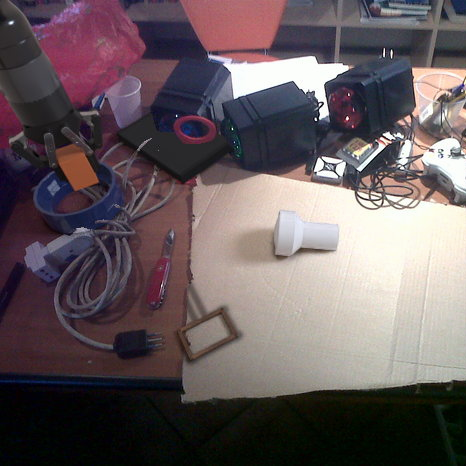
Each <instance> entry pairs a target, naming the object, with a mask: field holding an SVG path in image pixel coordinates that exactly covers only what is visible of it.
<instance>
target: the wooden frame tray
mask: <svg viewBox="0 0 466 466" xmlns="http://www.w3.org/2000/svg"><path fill="white" fill-rule="evenodd" d="M219 315H222V318H223V319H224V321H225V323H226V325H227V326H228V328H229V330H230V332H231V334H230V335H229V336H227V337H225V338H223V339H221V340H219V341H217V342H215V343H214V344H212V345H211V344H210V345H209V346H208V347H205V348H204V349H201V350H199V351H197V352H195V353H194V354H193V353H192V351H191V348H190V346H189V344H188V342H187V339H186V338H185V335H184V334H183V333H185V332H187V331H189V330H191V329H193V328H195V327H198V326H199V325H201V324H203V323H205V322H208V321H209V320H211V319H213V318H215V317H217V316H219ZM176 332H177V334H178V337H179V339H180V341H181V343H182V346H183V347H184V349H185V352H186V354H187V356H188V358H189V360H190V362H194V361H195V360H197V359H199V358H201V357H203V356H205V355H207V354H209V353H211V352H213V351H215V350H217V349H218V348H220V347H223V346H224V345H226V344H229V343H230V342H231V341H234V340H235V339H237V338H239V334H238V332H237V330H236V329H235V327H234V325H233V324H232V321H231V320H230V317H229V316H228V314H227V312H226V310H225V308H224V307H223V306H222V307H221V308H219V309H216V310H214V311H212V312H210V313H208V314H206V315H204V316H202V317H200V318H198V319H196V320H194V321H192V322H190V323H188V324H186V325H183V326H182V327H180V328H178V329H177V330H176Z"/></svg>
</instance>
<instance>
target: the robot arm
mask: <svg viewBox="0 0 466 466" xmlns="http://www.w3.org/2000/svg"><path fill="white" fill-rule="evenodd" d="M0 93H1V95H3V97H4V98H5V99H6V101H7V103H8V104H9V106H10V107H11V109H12V111H13V113H14V114H15V115H16V117H17V119H18V121H19V123H20V124H21V128H22V131H20V132H19V133H18V134H16V135H15V134H10V135H9V137H8V143H9V146H10V149H11V150H12V151H13V152H15V153H16V154H17V155H19V156H20V157H21V158H23V159H24V160H25V161H26V162H28V163H29V164H30V165H31V166H33V167H34V168H36V170H44V169H45V168H51V169H52V171H54V172H55V174H56V175H57V177H58V179H59V180H60V181H62V182H63V181H65V182H66V183H69V180H68V179H67V177H66V175H65V174H64V172H63V170H62V168H61V167H60V165H59V163H58V160H57V155H56V150H57V149H59V148H61V146H63V145H67V144H69V145H70V144H75V145H76V146H77V147H78V148H80V149H81V150H82V151H83V152H84V153H85V155H86V158H87V160H88V162H89V163H90V165H91V167H92V169H93V171H94V173H96V172H98V168H100V164H99V162H100V160H99V159H98V157H97V156H96V154H95V152H96V150H100V149H102V148H103V147H104V144H103V143H104V142H103V123H102V122H103V121H102V117H101V114H100V113H99V110H98V109H97V108H95V107H92V108H90V109H89V111H80V110H79V109H78V108H76V106H74V105H73V102H72V100H71V98H70V97H69V95H68V93H67V90H66V88H65V86H64V84H63V82H62V81H61V79H60V76H59V74H58V72H57V70H56V69H55V67H54V64H53V63H52V61H51V59H50V57H49V56H48V55H47V53H46V51H44V49H43V47H42V45H41V43H40V41H39V39H38V37H37V35H36V33H35V32H34V30H33V28H32V25H31V24H30V22H29V20H28V18H27V17H26V15H25V14H24V13H23V12H22V11H21V10H20V8H18V7H17V6H16V5H15V4H14V3H12V2H11V1H10V0H0ZM83 121H84V122H85V123H86V125H87V126H88V127H90V139H89V140H87V139H86V138H85V136H84V135H83V134H82V133H81V132H80V130H81V126H82V123H83ZM29 140H30V141H33V142H35V143H37V144H40V145H42V146H44V149H45V153H46V155H41V154H40V153H39V152H37V150H35V149H34V148H32V147H31V146H30V142H29Z"/></svg>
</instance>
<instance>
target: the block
mask: <svg viewBox="0 0 466 466" xmlns="http://www.w3.org/2000/svg"><path fill="white" fill-rule="evenodd" d="M55 150H56V155H57V160H58V163H59V165H60V167H61V168H62V170H63V172H64V174H65V175H66V177H67V179H68V180H69V182H70V184H71V185H72V187H73V189H74V192H77V191H79V190H83V189H85V188H88V187H91V186H94V185H93V184H96V183H99V181H98V178H97V176H96V173H94V171H93V169H92V167H91V165H90V163H89V162H88V160H87V158H86V155H85V153H84V152H83V151H82V150H81V149H80V148H78V147H77V146H76V145H75V144H74V143H70V144H69V145H65V146H63V147H59V148H56V149H55Z"/></svg>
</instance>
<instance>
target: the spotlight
mask: <svg viewBox="0 0 466 466" xmlns="http://www.w3.org/2000/svg"><path fill="white" fill-rule="evenodd" d="M273 229H274V230H273V243H274V248H275V249H274V252H275V253H274V254H275V256H285V257H292V256H293V255H294V254H295V253H296V252H297V251H298V250H299V249H301V248H302V249H312V250H313V249H314V250H326V251H337V249H338V247H339V241H340V225H339V224H338V223H329V222H328V223H327V222H318V221H307V220H303V219H302V218H301V216H299V214H298V212H297V211H295V210H291V209H278V215H277V218H276V221H275V224H274V228H273Z"/></svg>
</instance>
